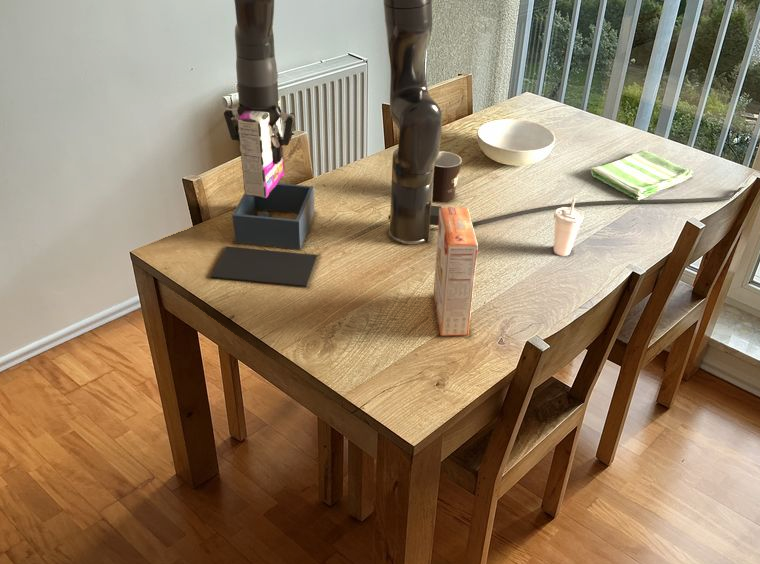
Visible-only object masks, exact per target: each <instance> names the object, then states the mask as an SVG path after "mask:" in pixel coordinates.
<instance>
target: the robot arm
mask: <svg viewBox="0 0 760 564" xmlns="http://www.w3.org/2000/svg"><path fill="white" fill-rule="evenodd" d="M382 2H383V13H384V23H385V24H384V25H385V32H386V41H387V51H388V58H389V65H390V83H389V84H390V86H389V87H390V88H389V113H390V117H391V120H392V122H393V123H394V124H395V126H396V127H397V128H398V146H397V148H395V150H394V151H393V153H392V158H391V159H392V161H391V184H390V185H391V186H390V207H389V208H390V211H389V212H390V213H389V215H388V220H389V229H388V235H389V237H390V238H391V240H393V241H395V242H397V243H400V244H403V245H418V244H419V245H420V244H423V243H429V241H430V237H431V228H432V227H431V226H438V220H439V208H442V206H441V205H433V202H434V201H433V181H434V167H435V161H436V159H437V157H438V154H439V152H440V147H441V139H442V131H443V130H442V128H443V114H442V113H443V112H442V110H441V107H440V106H439V104H438V103H437V102H436V101H435V100H434V99H433V97H431V96H430V94H429V90H428V85H427V76H426V65H425V63H426V54H427V50H428V46H429V43H430V40H431V37H432V31H433V1H432V0H382ZM234 8H235V18H236V19H235V20H236V24H235V26H234V42H235V55H236V58H235V59H236V60H235V71H236V83H237V93H238V106H237V107H232V106H228V107H227V108H226V109H225V110H224V112H223V116H224V119H225V123H226V126H227V129H228V132H229V135H230V138H231V140H232V141H237V142H239V132H238V123H237V118H238V117H239V116H240V115H241V114H242V113H243V112H244V111H245V110H253V111H263V112H268V113H269V117H270V123H269V131H270V138H271V140H272V142H273V144H274V147H273V157H274V164H278V163H279V162H280V161H281V159H282V157H283V158H284V154H283V155H282V146H283V147H284V146H285V147H286V146H289V144H290V142H291V140H292V136H293V132H294V125H295V120H296V114H295V113H294V112H289V113H287V112H283V111H282V109H281V106H280V107H279V101H278V100H279V85H278V83H279V82H278V78H279V76H278V75H279V74H278V67H277V66H278V65H277V60H276V54H275V37H274V28H273V27H274V17H275V0H234ZM279 118H281V122H282V124H283V126H285V127H284V132H283V136H282V137H281V135H280V133H279V128H278V126H277V124H276V122H277V121H278V120H279ZM274 125H275V128H274V130H273V126H274ZM744 187H745V186H741V187H739V188H737V189H736V191H734V192H733V193H732V194H730V195H727V196H717V197H697V198H695V197H694V198H663V199H661V198H660V199H658V198H657V199H656V198H655V199H654V198H653V199H641V200H637V199H617V200H616V199H615V200H595V201H581V202H575V203H574V208H575V207H585V206H602V205H603V206H604V205H624V204H625V205H628V204H629V205H630V204H635V205H636V204H677V203H678V204H679V203H701V202H704V203H705V202H723V201H728V200H731V199H730V198H732V197H733V196H734V195H735V194H736V193H737V192H739V191H740V190H741V189H742V188H744ZM732 199H733V198H732ZM571 205H572V202H570V203H562V204H555V205H554V204H553V205H548V206H542V207H535V208H530V209H525V210H520V211H515V212H511V213H507V214H503V215H500V216H495V217H492V218H487V219H483V220H478V221H473V222H472V225H473V227H476V226H481V225H487V224H491V223H493V222H497V221H502V220H505V219H511V218H514V217H519V216H522V215H528V214H533V213H538V212H544V211H545V212H546V211H551V210H557V209H558V208H561V207H571Z"/></svg>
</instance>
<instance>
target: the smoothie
mask: <svg viewBox="0 0 760 564" xmlns="http://www.w3.org/2000/svg"><path fill="white" fill-rule="evenodd" d="M576 197H577V196H573V197H572V200H571V203H572V205H571V207H561V208H558V209H555V210H554V214H553V218H554V219H555V220H554V236H553V237H554V240H553V252H554V254H556V255H558V256H561V257H562V256H563V257H566V256H568V255H570V254H571V251H572V248H573V245H574V243H575V240H576V237H577V234H578V232H579V229H580V226H581V223H583V220H584V213H583V212H582V211H581V210H579V209H577V208H575V207H574V203H576Z"/></svg>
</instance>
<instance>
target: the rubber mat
mask: <svg viewBox="0 0 760 564" xmlns="http://www.w3.org/2000/svg"><path fill="white" fill-rule="evenodd" d="M317 258H318V254H310V253H309V254H308V253H299V252H298V253H297V252H289V251H288V252H287V251H280V250H279V251H277V250H267V249H257V248H247V247H235V246H226V247H225V249H224V251H223V252H222V254H221V256H220V259H219V260H218V262H217V264H216V266H215V267H214V270H213V272H212V274H211V275H210V279H219V280H229V281H240V282H248V283H261V284H269V285H280V286H290V287H299V288H300V287H301V288H307V287H308V284H309V281H310V278H311V275H312V272H313V270H314V266H315V264H316V261H317Z"/></svg>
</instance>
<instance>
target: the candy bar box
mask: <svg viewBox="0 0 760 564" xmlns="http://www.w3.org/2000/svg"><path fill="white" fill-rule="evenodd" d="M278 101H279V107H280V108H281V100H279V99H278ZM236 120H237V123H238V132H239V141H238V142H239V151H240V160H241V161H240V162H241V169H242V181H243V182H242V183H243V191H244V193H245V195H248V196H255V197H262V198H267V196H268V195H269V194H270V193H271V191H272V190H273V189H274V187H275V186H276V185H277V183H280V181H281V180H282V179H283V177H284V176H285V161H284V159H285V158H284V145H283V146H282V155H283V157H282V159H281V161H280V162H279V163H278V164H274V157H273V147H274V144H273V142H272V140H271V138H270V131H269V123H270V117H269V113H268V112H263V111H253V110H245V111H244V112H243V113H242V114H241V115H240V116H239V115H238V117H237V119H236ZM276 124H277V126H278V128H279V133H280V135H281V137H283V131H282V119H281V118H279V120H278V121H277V122H276ZM274 128H275V125H274V126H273V130H274Z"/></svg>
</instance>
